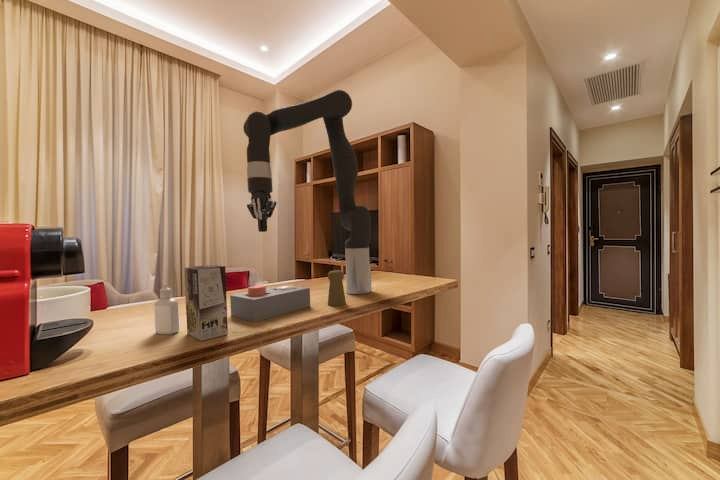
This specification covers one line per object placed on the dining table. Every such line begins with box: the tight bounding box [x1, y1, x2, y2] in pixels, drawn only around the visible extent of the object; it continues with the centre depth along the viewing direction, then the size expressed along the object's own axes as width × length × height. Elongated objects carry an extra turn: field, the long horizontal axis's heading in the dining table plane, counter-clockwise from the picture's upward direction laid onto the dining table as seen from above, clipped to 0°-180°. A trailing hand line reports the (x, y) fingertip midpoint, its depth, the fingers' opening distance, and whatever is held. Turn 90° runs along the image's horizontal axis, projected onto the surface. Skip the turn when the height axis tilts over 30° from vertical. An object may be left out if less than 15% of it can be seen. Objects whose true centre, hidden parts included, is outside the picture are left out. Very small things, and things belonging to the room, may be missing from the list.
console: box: [229, 284, 311, 323], centre depth 93 cm, size 20×12×6 cm, turn 142°
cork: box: [327, 269, 347, 307], centre depth 99 cm, size 6×6×11 cm
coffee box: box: [183, 264, 229, 342], centre depth 72 cm, size 9×6×16 cm
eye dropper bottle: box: [153, 283, 180, 335], centre depth 75 cm, size 4×6×12 cm
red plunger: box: [247, 285, 267, 297], centre depth 89 cm, size 5×5×6 cm
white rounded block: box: [276, 285, 294, 291], centre depth 97 cm, size 5×5×6 cm
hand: (262, 231), depth 98 cm, fingers closed
